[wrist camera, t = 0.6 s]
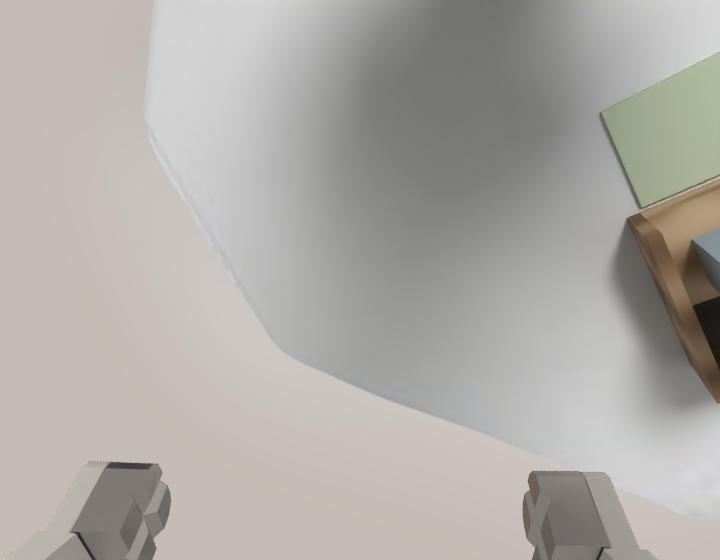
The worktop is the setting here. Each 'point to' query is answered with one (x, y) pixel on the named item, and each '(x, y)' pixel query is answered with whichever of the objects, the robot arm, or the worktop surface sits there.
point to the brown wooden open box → (686, 273)
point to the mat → (670, 132)
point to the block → (710, 255)
